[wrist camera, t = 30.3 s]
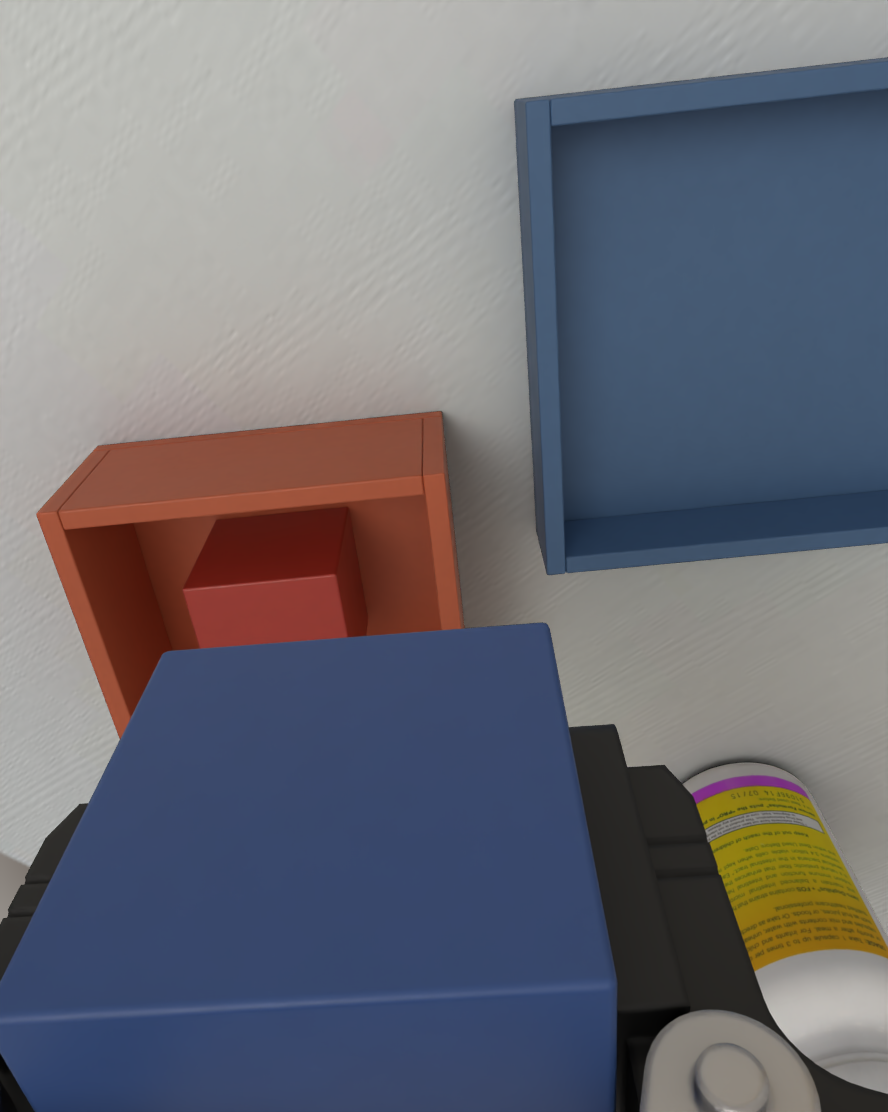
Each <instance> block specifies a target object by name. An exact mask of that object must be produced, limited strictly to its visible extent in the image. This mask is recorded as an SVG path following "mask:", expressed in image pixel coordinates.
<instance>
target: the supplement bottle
mask: <svg viewBox="0 0 888 1112" xmlns="http://www.w3.org/2000/svg"><path fill="white" fill-rule="evenodd" d="M682 785H683V786H684V787H685V788H686V789H687V790H688V791H689V792H690V793H691V794H692V795H693V797H694V799H695V802H696V805H697V808H698V811H699V814H700V817H701V820H702V822H703V825H704V828H705V831H706V834H707V841H708V842H709V843H710V845H711V848H712V851H713V854H714V857H715V860H716V863H717V866H718V873H719V875H721V877H722V880H723V883H724V886H725V888H726V891H727V894H728V897H729V900H730V903H731V906H732V909H733V911H734V914H735V917H736V920H737V923H738V926H739V929H740V932H741V934H742V937H743V940H744V943H745V946H746V949H747V952H748V954H749V957H750V960H751V963H752V966H753V969H754V972H755V975H756V977H757V980H758V983H759V986H760V989H761V992H762V995H763V998H764V1000H765V1002H766V1005H767V1007H768V1009H769V1012H770V1014H771V1015H772V1017H773V1019H774V1020H775V1022H776V1023H777V1025H778V1027H779V1028H780V1029H781V1030H782V1032H783V1033H784V1034H785V1036H786V1037H787V1038H788V1039H789V1040H790V1041H791V1042H792V1043H793V1044H794V1045H795V1046H796V1047H797V1048H798V1049H799V1050H800V1051H801V1052H802V1053H803V1054H804V1055H805V1056H807V1057H808V1058H809V1059H811V1060H812V1061H813V1062H814V1063H816V1064H817V1065H819V1066H820V1067H822V1068H823V1069H825V1070H827V1071H828V1072H830V1073H831V1074H833V1075H835V1076H838V1077H840V1078H842V1079H844V1080H846V1081H848V1082H850V1083H853V1084H856V1085H859V1086H862V1087H865V1088H868V1089H872V1090H875V1091H879V1092H883V1093H886V1094H888V936H887V935H886V933H885V931H884V929H883V927H882V925H881V923H880V921H879V920H878V918H877V916H876V914H875V912H874V910H873V908H872V907H871V905H870V903H869V901H868V899H867V897H866V895H865V894H864V892H863V890H862V888H861V886H860V884H859V882H858V880H857V879H856V877H855V875H854V873H853V871H852V869H851V867H850V865H849V863H848V862H847V860H846V858H845V856H844V854H843V852H842V850H841V848H840V846H839V845H838V843H837V841H836V839H835V837H834V835H833V833H832V832H831V830H830V828H829V826H828V824H827V822H826V821H825V819H824V817H823V815H822V813H821V811H820V809H819V808H818V806H817V804H816V802H815V800H814V798H813V797H812V795H811V793H810V792H809V790H808V789H807V788H806V787H805V785H804V784H803V783H802V782H801V781H800V780H799V779H797V778H796V777H795V776H793V775H792V774H790V773H788V772H786V771H784V770H782V769H780V768H777V767H774V766H771V765H766V764H761V763H734V764H727V765H722V766H718V767H715V768H711V769H709V770H706V771H704V772H702V773H700V774H698V775H696V776H694V777H692V778H691V779H689V780H688V781H686V782H685V783H684V784H682Z"/></svg>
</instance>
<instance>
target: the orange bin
mask: <svg viewBox="0 0 888 1112" xmlns="http://www.w3.org/2000/svg"><path fill="white" fill-rule="evenodd" d="M340 507H348V508H349V511H350V517H351V522H352V528H353V534H354V540H355V545H356V551H357V557H358V562H359V568H360V574H361V580H362V585H363V591H364V597H365V602H366V608H367V614H368V625H367V634H366V636H372V635H385V634H398V633H411V632H424V631H437V630H450V629H463V628H465V626H464V617H463V607H462V598H461V588H460V579H459V569H458V560H457V550H456V541H455V531H454V522H453V512H452V503H451V493H450V484H449V474H448V465H447V455H446V446H445V436H444V427H443V417H442V412H441V411H437V412H427V413H417V414H407V415H397V416H387V417H378V418H368V419H358V420H348V421H338V422H328V423H318V424H308V425H298V426H288V427H279V428H269V429H259V430H249V431H239V432H229V433H219V434H209V435H199V436H189V437H180V438H170V439H160V440H150V441H140V442H130V443H120V444H110V445H100V446H97V447H96V448H95V449H94V451H93V452H92V453H91V454H90V455H89V456H88V457H87V458H86V459H85V460H84V462H83V463H82V464H81V465H80V466H79V467H78V468H77V469H76V470H75V471H74V473H73V474H72V475H71V476H70V477H69V478H68V479H67V480H66V481H65V482H64V484H63V485H62V486H61V487H60V488H59V489H58V490H57V491H56V492H55V494H54V495H53V496H52V497H51V498H50V499H49V500H48V501H47V502H46V503H45V505H44V506H43V507H42V508H41V509H40V510H39V511H38V512H37V518H38V521H39V523H40V526H41V529H42V531H43V534H44V537H45V539H46V542H47V545H48V547H49V550H50V553H51V555H52V558H53V561H54V564H55V566H56V569H57V572H58V574H59V577H60V580H61V582H62V585H63V588H64V590H65V593H66V596H67V598H68V601H69V604H70V607H71V609H72V612H73V615H74V617H75V620H76V623H77V625H78V628H79V631H80V633H81V636H82V639H83V641H84V644H85V647H86V650H87V652H88V655H89V658H90V660H91V663H92V666H93V668H94V671H95V674H96V676H97V679H98V682H99V684H100V687H101V690H102V692H103V695H104V698H105V701H106V703H107V706H108V709H109V711H110V714H111V717H112V719H113V722H114V725H115V727H116V730H117V733H118V735H119V738H120V739H121V737H122V735H123V733H124V731H125V729H126V727H127V725H128V723H129V721H130V719H131V717H132V715H133V713H134V711H135V708H136V706H137V704H138V702H139V700H140V698H141V696H142V694H143V692H144V690H145V688H146V686H147V684H148V682H149V680H150V678H151V676H152V674H153V672H154V670H155V668H156V666H157V664H158V662H159V660H160V658H161V656H162V654H163V653H165V652H167V651H175V650H188V649H200V648H199V645H198V642H197V638H196V635H195V631H194V628H193V625H192V621H191V618H190V615H189V611H188V608H187V605H186V601H185V598H184V594H183V591H182V590H183V587H184V585H185V583H186V581H187V579H188V577H189V575H190V572H191V570H192V568H193V566H194V564H195V562H196V560H197V558H198V556H199V554H200V552H201V550H202V548H203V546H204V543H205V541H206V539H207V537H208V535H209V533H210V531H211V529H212V527H213V525H214V523H215V521H216V520H222V519H232V518H241V517H251V516H261V515H271V514H281V513H291V512H301V511H311V510H321V509H331V508H340Z"/></svg>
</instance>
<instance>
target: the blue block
mask: <svg viewBox="0 0 888 1112" xmlns="http://www.w3.org/2000/svg"><path fill="white" fill-rule="evenodd" d="M617 984H618V982H617V977H616V972H615V966H614V961H613V956H612V951H611V946H610V940H609V935H608V930H607V925H606V919H605V914H604V909H603V904H602V899H601V893H600V888H599V883H598V878H597V873H596V867H595V862H594V857H593V852H592V847H591V841H590V836H589V831H588V826H587V821H586V815H585V810H584V805H583V800H582V794H581V789H580V784H579V779H578V774H577V768H576V763H575V758H574V753H573V748H572V742H571V737H570V732H569V727H568V722H567V716H566V711H565V706H564V701H563V695H562V690H561V685H560V680H559V675H558V669H557V664H556V659H555V654H554V649H553V643H552V638H551V633H550V628H549V627H548V625H547V624H546V623H529V624H516V625H503V626H490V627H477V628H463V629H450V630H437V631H424V632H411V633H398V634H385V635H372V636H358V637H345V638H332V639H319V640H306V641H293V642H280V643H267V644H253V645H240V646H227V647H214V648H201V649H188V650H175V651H167V652H165V653H163V654H162V656H161V658H160V660H159V662H158V664H157V666H156V668H155V670H154V672H153V674H152V676H151V678H150V680H149V682H148V684H147V686H146V688H145V690H144V692H143V694H142V696H141V698H140V700H139V702H138V704H137V706H136V708H135V711H134V713H133V715H132V717H131V719H130V721H129V723H128V725H127V727H126V729H125V731H124V733H123V735H122V737H121V739H120V741H119V743H118V745H117V747H116V749H115V751H114V753H113V755H112V757H111V759H110V761H109V763H108V765H107V767H106V769H105V771H104V773H103V775H102V777H101V779H100V781H99V783H98V785H97V787H96V789H95V791H94V793H93V795H92V797H91V799H90V801H89V803H88V805H87V807H86V810H85V812H84V814H83V816H82V818H81V820H80V822H79V824H78V826H77V828H76V830H75V832H74V834H73V836H72V838H71V840H70V842H69V844H68V846H67V848H66V850H65V852H64V854H63V856H62V858H61V860H60V862H59V864H58V866H57V868H56V870H55V872H54V874H53V876H52V878H51V880H50V882H49V884H48V886H47V888H46V890H45V892H44V894H43V896H42V898H41V900H40V902H39V904H38V906H37V908H36V911H35V913H34V915H33V917H32V919H31V921H30V923H29V925H28V927H27V929H26V931H25V933H24V935H23V937H22V939H21V941H20V943H19V945H18V947H17V949H16V951H15V953H14V955H13V957H12V959H11V961H10V963H9V965H8V967H7V969H6V971H5V973H4V975H3V977H2V979H1V981H0V1054H1V1055H2V1057H3V1059H4V1060H5V1062H6V1064H7V1066H8V1067H9V1069H10V1071H11V1072H12V1074H13V1076H14V1077H15V1079H16V1081H17V1083H18V1084H19V1086H20V1088H21V1089H22V1091H23V1093H24V1094H25V1096H26V1098H27V1100H28V1101H29V1103H30V1105H31V1106H32V1108H33V1110H34V1111H35V1112H616V1072H617Z"/></svg>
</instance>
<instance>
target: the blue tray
mask: <svg viewBox="0 0 888 1112" xmlns="http://www.w3.org/2000/svg"><path fill="white" fill-rule="evenodd" d="M514 110H515V130H516V149H517V168H518V187H519V207H520V226H521V245H522V264H523V284H524V303H525V322H526V341H527V361H528V380H529V399H530V418H531V438H532V457H533V476H534V495H535V515H536V532H537V536H538V540H539V544H540V548H541V552H542V556H543V560H544V564H545V569H546V573H547V575H555V574H564V573H565V572H567V573H574V572H585V571H595V570H606V569H617V568H627V567H638V566H648V565H659V564H670V563H680V562H691V561H701V560H712V559H723V558H733V557H744V556H754V555H765V554H776V553H786V552H797V551H807V550H818V549H829V548H839V547H850V546H861V545H871V544H882V543H888V57H887V58H878V59H869V60H860V61H851V62H843V63H834V64H825V65H816V66H807V67H798V68H789V69H780V70H772V71H763V72H754V73H745V74H736V75H727V76H718V77H709V78H701V79H692V80H683V81H674V82H665V83H656V84H647V85H638V86H630V87H621V88H612V89H603V90H594V91H585V92H576V93H567V94H559V95H550V96H541V97H532V98H523V99H516V100H515V101H514Z"/></svg>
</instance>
